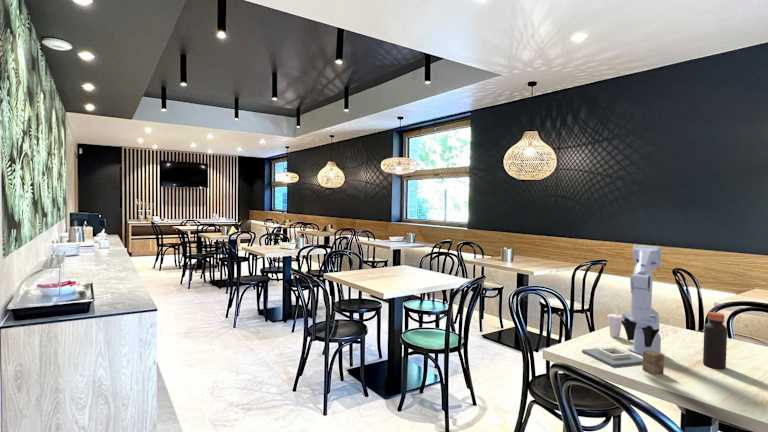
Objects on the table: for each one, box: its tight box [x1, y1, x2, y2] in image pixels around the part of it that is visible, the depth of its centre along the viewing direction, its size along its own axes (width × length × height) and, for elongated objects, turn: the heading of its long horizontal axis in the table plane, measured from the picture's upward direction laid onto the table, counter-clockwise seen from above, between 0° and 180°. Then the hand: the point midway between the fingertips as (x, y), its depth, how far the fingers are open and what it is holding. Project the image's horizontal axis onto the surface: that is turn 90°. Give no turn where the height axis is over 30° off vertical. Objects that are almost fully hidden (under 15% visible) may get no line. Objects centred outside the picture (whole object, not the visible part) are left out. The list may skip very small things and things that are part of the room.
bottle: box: [702, 311, 728, 370], centre depth 156 cm, size 7×7×20 cm
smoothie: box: [607, 306, 623, 339], centre depth 191 cm, size 6×6×14 cm
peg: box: [642, 350, 665, 376], centre depth 150 cm, size 4×4×7 cm
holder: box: [581, 346, 643, 368], centre depth 164 cm, size 16×16×2 cm
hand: (639, 343), depth 153 cm, fingers open, 7 cm apart
